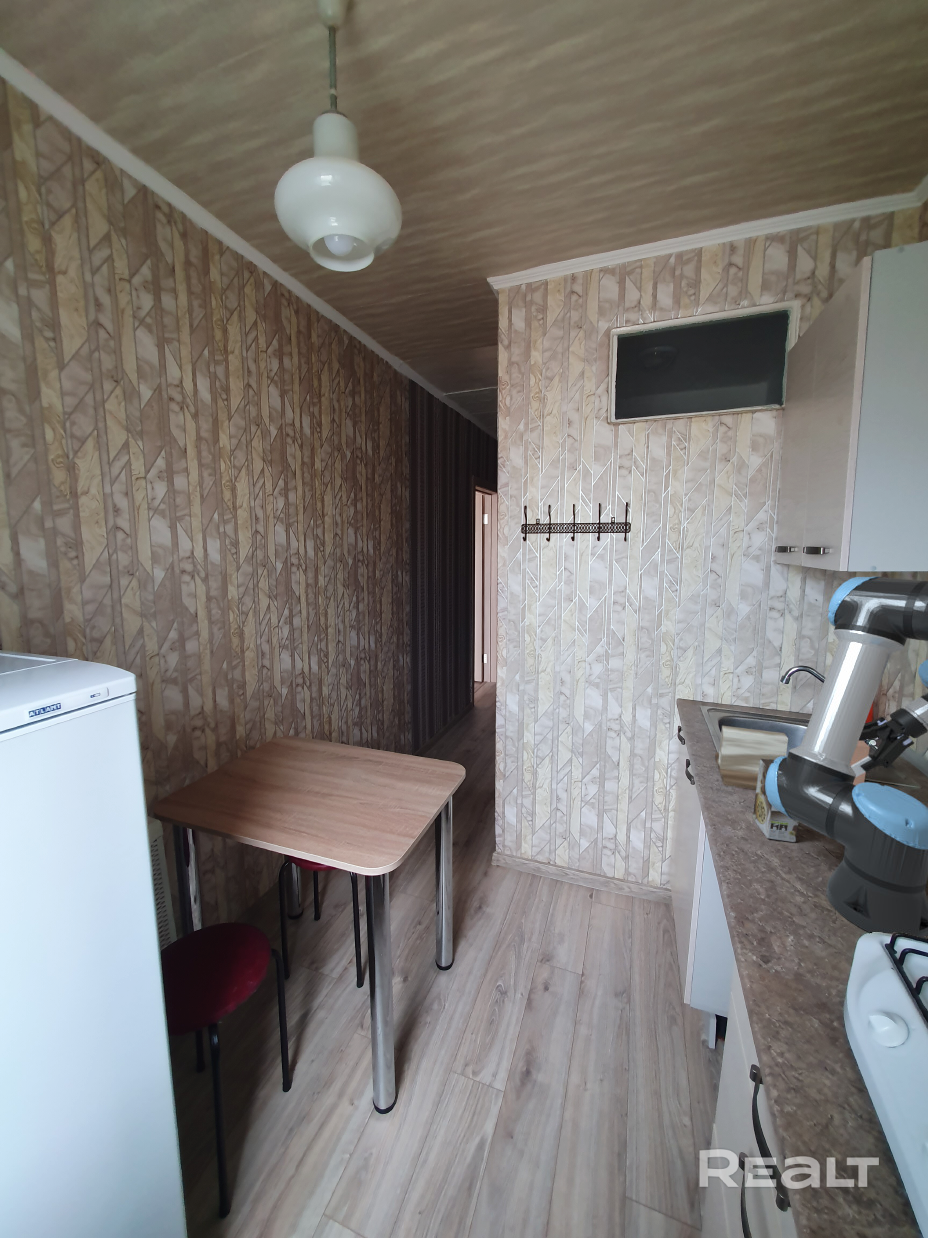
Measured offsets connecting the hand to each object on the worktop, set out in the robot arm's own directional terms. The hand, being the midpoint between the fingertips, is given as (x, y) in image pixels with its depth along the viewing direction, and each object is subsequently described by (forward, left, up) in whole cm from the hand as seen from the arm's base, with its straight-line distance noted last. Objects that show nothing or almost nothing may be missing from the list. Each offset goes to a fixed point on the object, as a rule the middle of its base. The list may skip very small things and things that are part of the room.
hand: (838, 762), depth 131 cm
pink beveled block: (0, -1, -6) cm, 6 cm away
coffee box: (-28, +21, -8) cm, 36 cm away
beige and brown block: (0, +16, -8) cm, 18 cm away
